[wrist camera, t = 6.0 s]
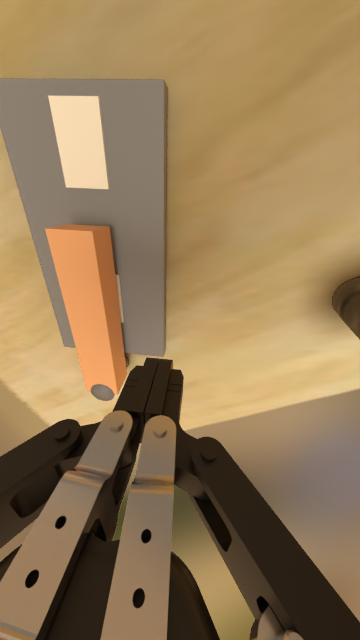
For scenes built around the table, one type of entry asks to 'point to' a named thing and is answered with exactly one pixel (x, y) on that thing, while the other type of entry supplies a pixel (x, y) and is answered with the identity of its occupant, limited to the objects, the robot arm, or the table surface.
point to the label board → (97, 184)
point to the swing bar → (91, 303)
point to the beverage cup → (349, 304)
